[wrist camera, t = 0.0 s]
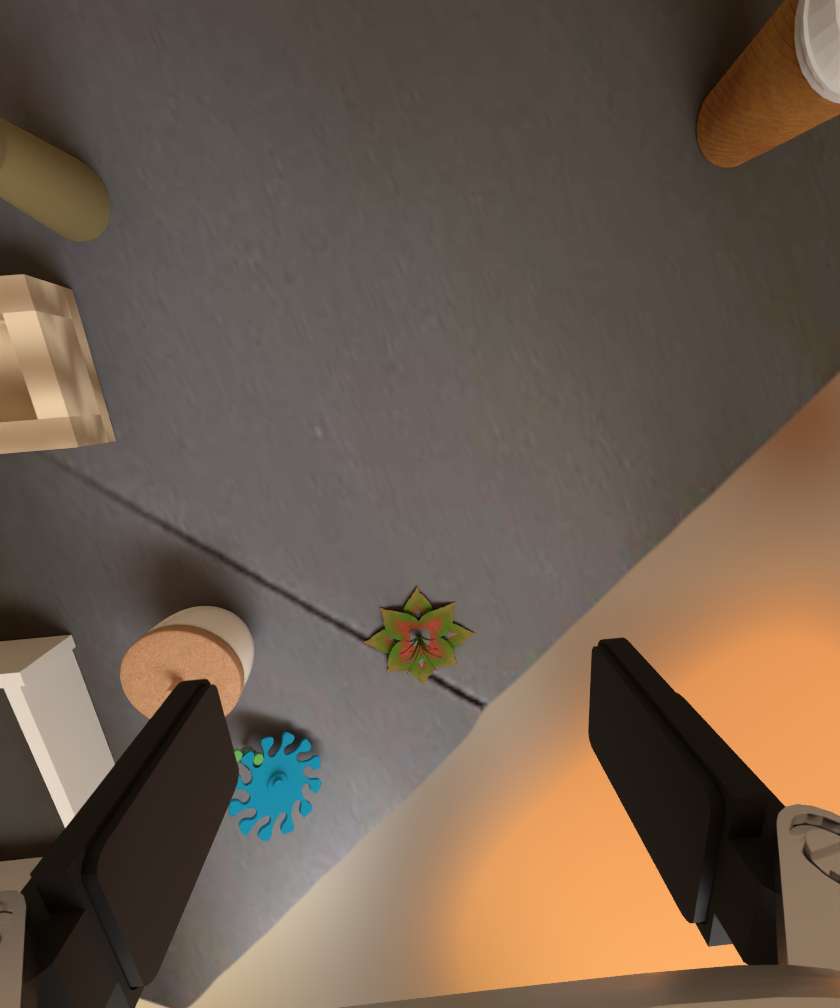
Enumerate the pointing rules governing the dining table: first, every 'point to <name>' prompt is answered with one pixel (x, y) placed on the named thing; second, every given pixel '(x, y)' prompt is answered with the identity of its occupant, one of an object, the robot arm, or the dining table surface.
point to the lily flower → (409, 655)
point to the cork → (51, 185)
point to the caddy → (46, 371)
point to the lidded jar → (189, 657)
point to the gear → (274, 784)
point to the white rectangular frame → (53, 729)
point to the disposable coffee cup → (775, 85)
